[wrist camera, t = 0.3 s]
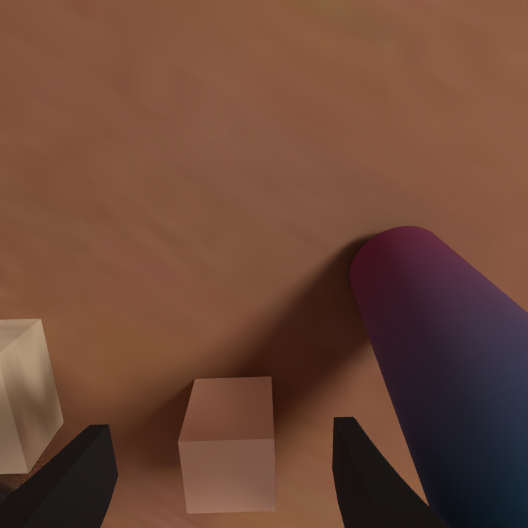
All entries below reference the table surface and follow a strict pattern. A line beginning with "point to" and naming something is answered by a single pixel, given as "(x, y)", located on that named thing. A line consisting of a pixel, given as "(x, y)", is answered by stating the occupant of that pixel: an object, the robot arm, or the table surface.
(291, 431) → the table surface
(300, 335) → the table surface
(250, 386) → the terracotta cube
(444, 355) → the cup
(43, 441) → the oak block
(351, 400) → the table surface
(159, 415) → the table surface
